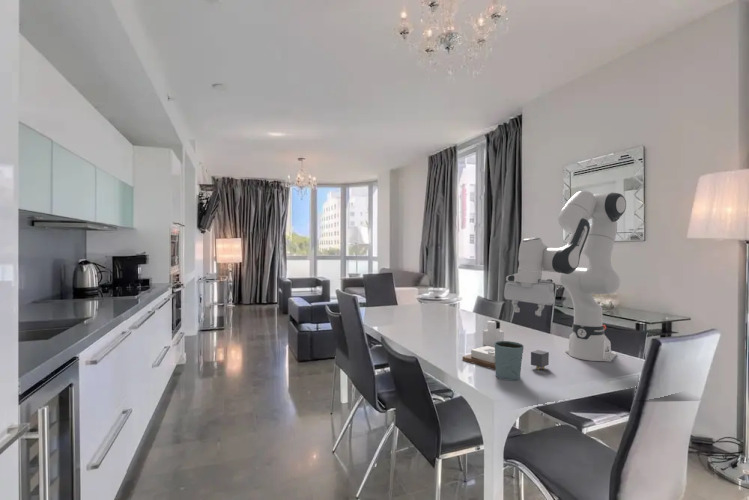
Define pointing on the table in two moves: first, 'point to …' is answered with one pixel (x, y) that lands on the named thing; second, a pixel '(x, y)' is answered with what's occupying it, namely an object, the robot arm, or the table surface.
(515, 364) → the teal cup
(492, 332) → the medicine bottle
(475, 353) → the socket
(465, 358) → the mounting board
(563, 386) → the table surface
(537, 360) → the plug
